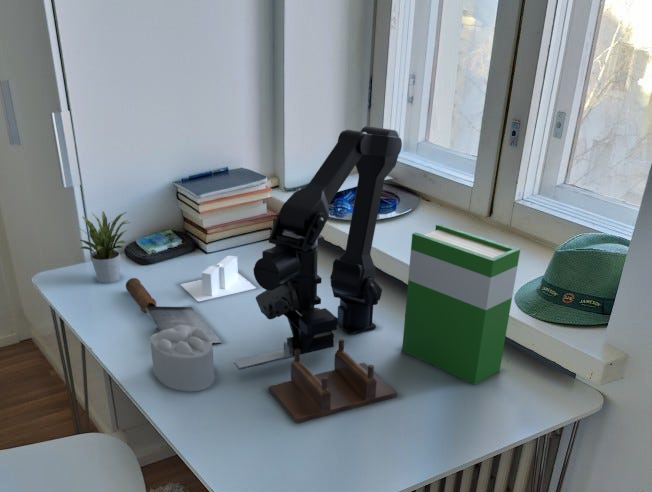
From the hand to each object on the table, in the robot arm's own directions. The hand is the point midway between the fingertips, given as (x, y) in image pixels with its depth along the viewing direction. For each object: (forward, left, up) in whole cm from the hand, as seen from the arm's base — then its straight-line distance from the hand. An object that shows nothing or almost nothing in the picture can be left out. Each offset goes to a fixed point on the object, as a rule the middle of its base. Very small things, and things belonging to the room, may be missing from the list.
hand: (301, 346), depth 149 cm
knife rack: (0, +13, -3) cm, 13 cm away
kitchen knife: (+3, 0, -1) cm, 3 cm away
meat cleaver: (+17, -31, -4) cm, 35 cm away
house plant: (+23, -57, -4) cm, 62 cm away
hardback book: (-26, +12, -4) cm, 29 cm away
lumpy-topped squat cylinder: (+22, -5, -4) cm, 23 cm away
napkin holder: (+2, -41, -4) cm, 41 cm away
